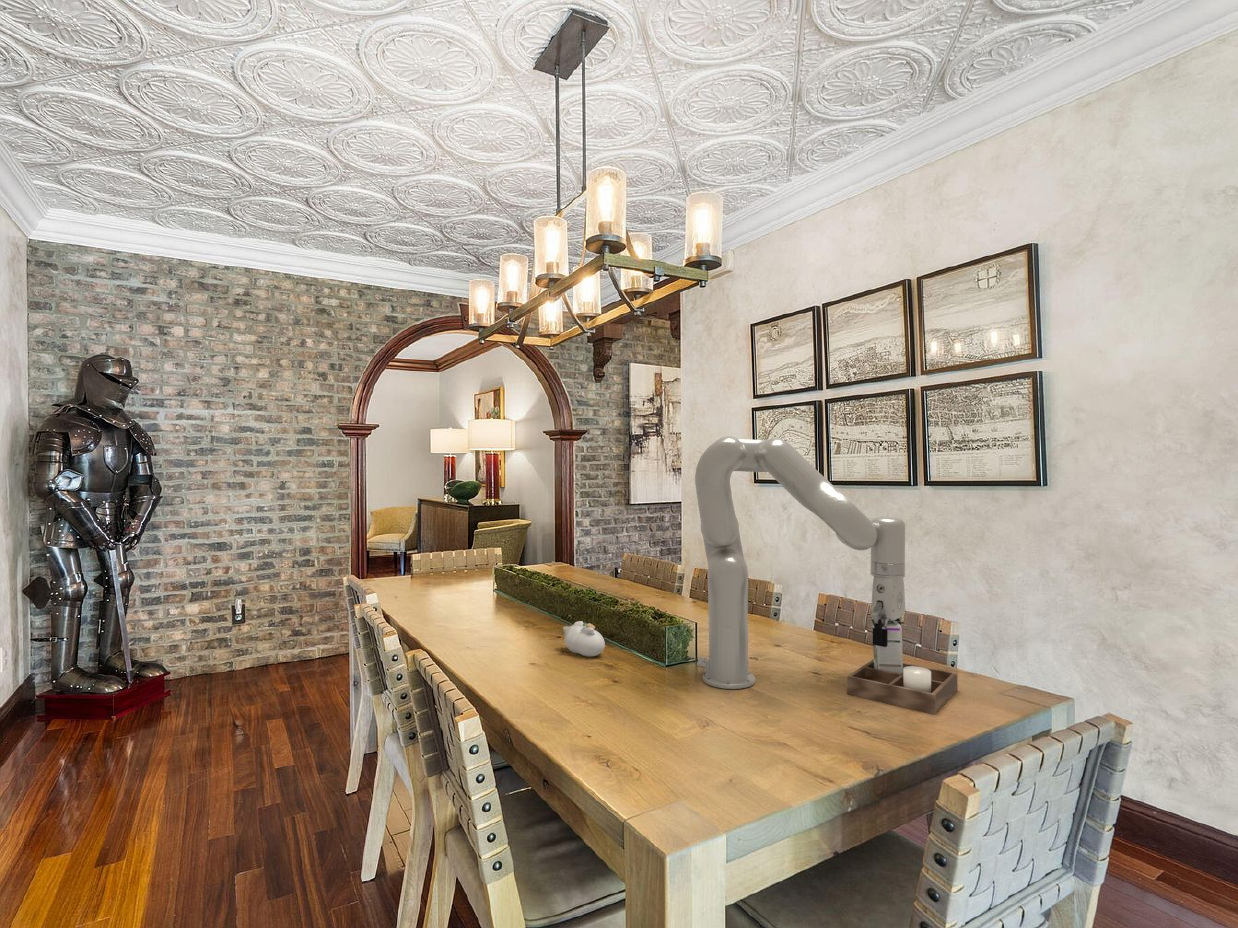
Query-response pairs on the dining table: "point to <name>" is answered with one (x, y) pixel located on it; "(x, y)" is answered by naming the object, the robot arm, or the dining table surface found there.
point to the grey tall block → (890, 650)
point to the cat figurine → (583, 639)
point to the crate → (902, 688)
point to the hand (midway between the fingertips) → (887, 641)
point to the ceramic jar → (917, 678)
